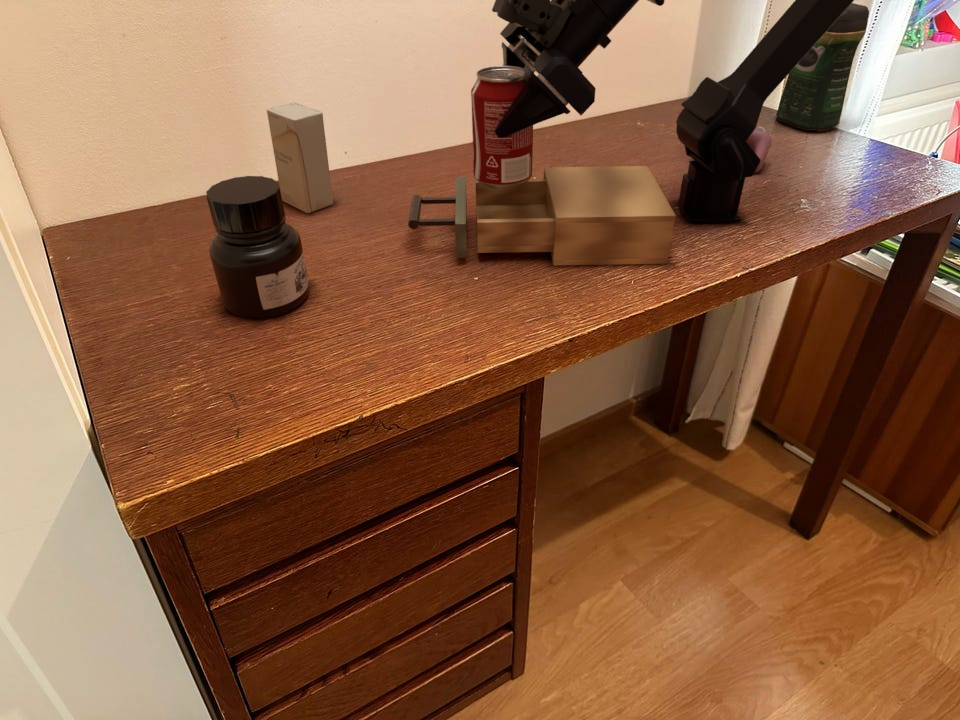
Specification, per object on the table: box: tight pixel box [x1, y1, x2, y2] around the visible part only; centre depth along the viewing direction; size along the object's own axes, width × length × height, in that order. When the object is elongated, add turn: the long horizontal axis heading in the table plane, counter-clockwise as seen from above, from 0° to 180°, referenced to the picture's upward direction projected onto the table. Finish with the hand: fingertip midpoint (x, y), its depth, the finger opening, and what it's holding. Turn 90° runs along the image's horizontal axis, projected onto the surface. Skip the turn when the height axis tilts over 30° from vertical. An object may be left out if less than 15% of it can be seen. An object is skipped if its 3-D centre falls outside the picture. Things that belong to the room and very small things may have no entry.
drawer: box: [407, 176, 555, 259], centre depth 82 cm, size 17×13×4 cm
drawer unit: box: [543, 165, 677, 267], centre depth 82 cm, size 13×14×6 cm
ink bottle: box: [205, 175, 310, 318], centre depth 69 cm, size 10×9×12 cm
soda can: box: [470, 65, 534, 189], centre depth 77 cm, size 7×7×12 cm
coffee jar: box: [776, 2, 870, 132], centre depth 110 cm, size 10×8×19 cm
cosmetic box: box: [266, 101, 334, 214], centre depth 88 cm, size 6×4×12 cm
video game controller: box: [746, 124, 773, 174], centre depth 101 cm, size 10×5×7 cm, turn 58°
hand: (490, 124), depth 76 cm, fingers closed on soda can, 7 cm apart
